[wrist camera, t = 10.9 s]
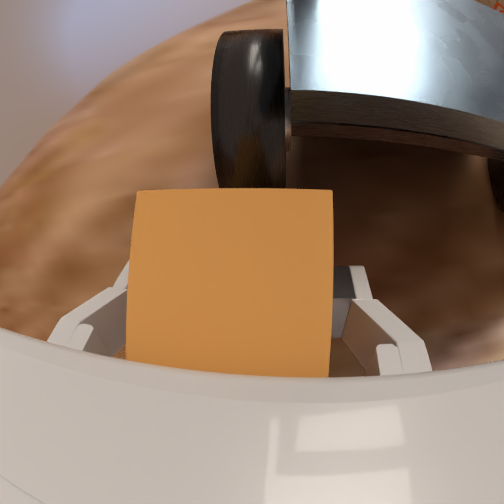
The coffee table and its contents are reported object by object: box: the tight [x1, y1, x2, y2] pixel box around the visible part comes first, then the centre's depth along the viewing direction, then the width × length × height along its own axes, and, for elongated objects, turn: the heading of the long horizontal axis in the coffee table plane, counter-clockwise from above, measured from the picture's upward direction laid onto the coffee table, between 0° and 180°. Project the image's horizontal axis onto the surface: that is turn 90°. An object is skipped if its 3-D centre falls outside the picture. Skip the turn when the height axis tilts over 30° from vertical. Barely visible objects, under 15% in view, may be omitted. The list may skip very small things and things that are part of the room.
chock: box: [126, 188, 334, 377], centre depth 11 cm, size 5×5×8 cm
